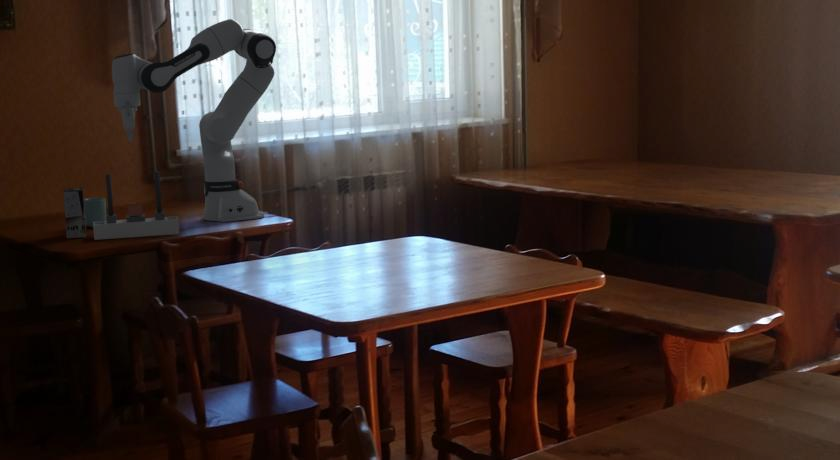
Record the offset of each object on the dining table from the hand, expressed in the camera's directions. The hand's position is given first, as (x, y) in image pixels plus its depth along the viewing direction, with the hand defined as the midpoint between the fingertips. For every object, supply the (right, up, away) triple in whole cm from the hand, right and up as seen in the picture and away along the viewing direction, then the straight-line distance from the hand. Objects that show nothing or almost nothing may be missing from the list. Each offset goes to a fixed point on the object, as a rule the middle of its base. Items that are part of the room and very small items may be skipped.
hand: (130, 141), depth 368 cm
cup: (-16, -30, +12) cm, 36 cm away
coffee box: (-17, -33, -5) cm, 38 cm away
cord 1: (-4, -28, -10) cm, 30 cm away
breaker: (+4, -26, -8) cm, 28 cm away
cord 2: (+12, -27, -5) cm, 30 cm away
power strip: (+4, -33, -7) cm, 34 cm away
